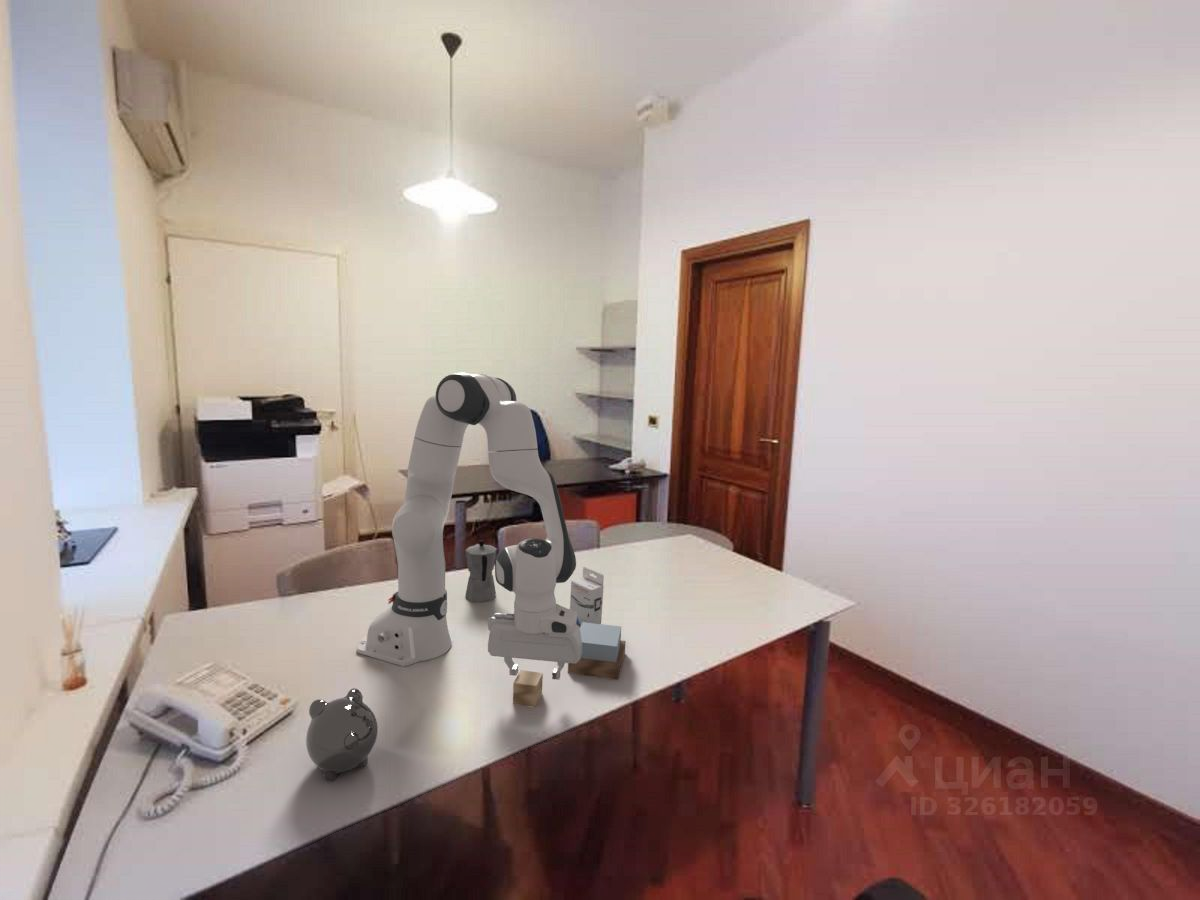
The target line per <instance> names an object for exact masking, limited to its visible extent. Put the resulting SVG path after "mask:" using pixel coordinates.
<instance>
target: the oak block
mask: <svg viewBox="0 0 1200 900" xmlns="http://www.w3.org/2000/svg"><path fill="white" fill-rule="evenodd" d="M543 676H544V674H543V672H537V671H530V670H525V669H524V670H523V669H520V670H519V671H518V673H517V675H516V678H515V680H514V681H513V682H512V683H513V684H512V685H513V687H512V704H513V705H518V706H524V707H530V708H536V707H537V705H538V703H539V701H540V699H541V697H542V695H543V681H544V680H543V679H544V678H543Z"/></svg>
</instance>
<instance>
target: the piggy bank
mask: <svg viewBox="0 0 1200 900" xmlns="http://www.w3.org/2000/svg"><path fill="white" fill-rule="evenodd" d="M363 697H364V695H363V694H362V692H361V691H360V689H358V688H355V687H353V688H351V689H349V691H348V692H347V694H346V695H345V696H344V697H340V698H339V697H338V698H335V699H333V700H331V701H329V702H327V701H326V700H324V699H319V698H318V699H315V700H313V701H312V702H311V704H310V706H309V709H308V714H309V717H310V719H311V720H310V723H309V726H308V727H307V731H306V736H305V745H306V751H307V753H308V756H309V758H310V760H311V761H312V763H313V764H314V765H315V766H317V767H318V768H320V769H321V770H322V772H323V779H324V781H325V782H332V781H334V780H335V779H336V778H337V775H338V773H343V772H347V771H350V770H353V769H354V768H356V767H357V768H358V769H360V770H361V769H365V768H366V767H367V766H368V764H369V755H370V753H371V752H372V750H373V749H374V747H375V744H376V741H377V739H378V732H379V731H378V730H379V729H378V728H379V727H378V721H377V718H376V715H375V713H374V712H373V711H372V709H371V708H370V707H369V706H368V705H367V704H366V703H365V702H364V700H363V699H364V698H363Z"/></svg>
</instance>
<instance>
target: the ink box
mask: <svg viewBox="0 0 1200 900" xmlns="http://www.w3.org/2000/svg"><path fill="white" fill-rule="evenodd" d="M590 574H591V575H590ZM593 575H594V576H593ZM604 577H605V576H604V574H602V573H600V572H597V571H596V570H594V569H590V568H588V567H586V566H583V567H582V576H581V577H578V578H575V579H573V580H571V582H570V601H569V609H570V610H573V611H575V612H576V613H577V621H576V624H577V625H580V626H581V624H582V622H586V623H595V624H602V618H603V617H602V615H603V599H604V588H605V587H604V580H605V578H604Z"/></svg>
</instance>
